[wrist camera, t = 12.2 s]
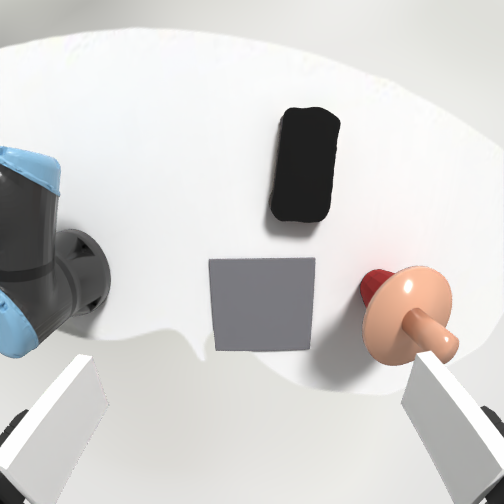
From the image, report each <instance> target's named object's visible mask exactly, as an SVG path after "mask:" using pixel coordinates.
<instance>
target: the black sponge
mask: <svg viewBox="0 0 504 504" xmlns="http://www.w3.org/2000/svg"><path fill="white" fill-rule="evenodd" d="M340 124H341V123H340V120H339V119H338V117H336V116H335V115H334V114H332V113H331V112H329V111H328V110H326V109H323V108H320V107H310V108H289V109H287V110H286V111H285V113H284V115H283V116H282V117H281V119H280V125H281V130H280V137H279V145H278V153H277V162H276V169H275V178H274V187H273V191H272V193H271V195H270V198H269V205H270V208H271V211H272V213H273V215H274V216H275V217H276V218H277V219H278V220H280V221H298V222H304V223H312V222H320V221H322V220H323V219H324V218H325V217H326V216H327V214H328V212H329V209H330V204H331V193H332V188H333V176H334V165H335V158H336V155H335V154H336V151H337V138H338V133H339V130H340Z"/></svg>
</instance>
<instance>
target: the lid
mask: <svg viewBox="0 0 504 504" xmlns="http://www.w3.org/2000/svg"><path fill="white" fill-rule="evenodd" d="M451 308H452V293H451V289H450V286H449V284H448V281H447V280H446V279H445V277H444V276H443V275H442V274H440V273H439V272H437V271H436V270H434V269H432V268H429V267H426V266H412V267H408V268H405V269H403V270H401V271H399V272H397V273H395V274H394V275H392V276H391V277H390V278H389V279H387V280H386V281H385V282H384V283H383V284H382V285H381V286H380V288H379V289H378V290H377V291H376V293H375V294H374V296H373V297H372V299H371V301H370V302H369V304H368V307H367V309H366V312H365V315H364V319H363V323H362V337H363V342H364V344H365V347H366V348H367V350H368V351H369V353H370V354H371V355H372V357H373V358H374V359H375V360H377V361H378V362H380V363H382V364H385V365H390V366H397V365H403V364H406V363H409V362H411V361H414V360H415V357H416V353H421V352H427V351H432V352H433V353H434V355H435V356H436V357H437V358H438V359H439V360H440V361H441V362H442V364H445V363H447V362H449V361H450V360H451V359H452V358H453V357H454V355H455V354H456V352H457V350H458V347H459V340H458V338H457V337H455V336H454V335H453V334H452V333H450V332H449V331H448V330H447V329H446V328H445V327H446V325H447V323H448V320H449V317H450V314H451Z"/></svg>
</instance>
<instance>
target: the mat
mask: <svg viewBox="0 0 504 504" xmlns="http://www.w3.org/2000/svg"><path fill="white" fill-rule="evenodd" d="M209 266H210V283H211V298H212V312H213V325H214V337H215V348H216V351H275V350H302V349H310V340H311V327H312V313H313V297H314V278H315V258H257V259H209Z"/></svg>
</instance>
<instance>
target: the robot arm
mask: <svg viewBox="0 0 504 504" xmlns="http://www.w3.org/2000/svg"><path fill="white" fill-rule="evenodd" d="M60 174H61V167H60V164H59V162H58V161H57V160H56V159H55V158H53V157H50V156H47V155H43V154H39V153H35V152H30V151H26V150H21V149H16V148H10V147H4V146H0V353H1V354H3V355H5V356H7V357H10V358H21V357H23V356H24V355H25V354H27V353H28V352H30V351H31V350H34V349H35V348H37V347H38V345H39V344H40V343H41V342H42V341H44V340H45V339H46V338H47V337H48V336H49V335H50V334H51V333H52V332H54V331H55V330H56V329H57V328H58V327H59V326H60V325H61V324H62V323H64V322H65V321H66V320H67V319H68V318H69V317H73V316H78V315H83V314H87V313H90V312H92V311H93V310H95V309H96V308H97V307H98V306H99V305H101V304H102V303H103V301H104V300H105V299H106V297H107V295H108V292H109V288H110V269H109V265H108V262H107V259H106V257H105V254H104V253H103V251H102V249H101V248H100V246H99V245H98V244H97V242H96V241H95V240H94V239H93V238H91V237H90V236H89V235H87V234H86V233H84V232H82V231H79V230H75V229H68V230H64V231H61V232H58V233H56V221H57V209H58V200H59V197H60V192H59V185H60ZM401 404H402V406H403V408H404V409H405V411H406V413H407V415H408V416H409V418H410V420H411V422H412V423H413V425H414V427H415V429H416V431H417V433H418V434H419V436H420V438H421V440H422V442H423V443H424V445H425V447H426V449H427V451H428V453H429V455H430V457H431V459H432V461H433V462H434V464H435V466H436V468H437V470H438V472H439V474H440V476H441V478H442V480H443V482H444V484H445V486H446V488H447V490H448V492H449V494H450V496H451V498H452V500H453V502H454V504H479V503H480V502H481V501H482V500H483V498H486V500H487V502H486V503H485V504H504V423H503V422H501V419H500V418H499V417H498V416H497V414H496V413H495V412H494V411H492V410H491V409H489V408H487V407H486V406H483V407H479V406H478V405H477V404H476V402H475V401H474V400H473V399H472V397H471V396H470V395H469V394H468V393H467V391H466V390H465V389H464V388H463V387H462V385H461V384H460V383H459V382H458V381H457V380H456V378H455V377H454V376H453V375H452V374H451V373H450V372H449V371H448V369H447V368H446V367H445V366H444V365H443V364H442V362H441V361H440V360H439V359H438V358H437V357H436V356H435V355H434V353H433V352H432V351H427V352H421V353H416V357H415V360H414V364H413V367H412V370H411V374H410V377H409V380H408V383H407V386H406V389H405V393H404V395H403V398H402V401H401ZM108 406H109V402H108V400H107V397H106V395H105V392H104V389H103V386H102V383H101V381H100V378H99V375H98V372H97V369H96V365H95V362H94V359H93V356H88V355H82V354H78V355H77V356H76V357H75V358H74V359H73V360H72V361H71V363H70V364H69V365H68V366H67V367H66V368H65V369H64V370H63V372H62V373H61V374H60V375H59V376H58V377H57V378H56V380H55V381H54V382H53V383H52V384H51V385H50V387H49V388H48V389H47V390H46V391H45V392H44V394H43V395H42V396H41V397H40V398H39V400H38V401H37V402H36V403H35V404H34V406H33V407H32V408H31V409H30V410H24V411H23V412H21V413H20V414H18V415H17V416H16V417H15V418H14V419H13V420H12V421H11V423H10V424H9V425H10V426H7V427H6V429H5V430H4V433H3V432H2V434H1V435H0V504H24V503H23V502H24V500H25V498H26V499H27V500H28V501H29V502H30V503H31V504H56V502H57V500H58V498H59V496H60V494H61V492H62V490H63V488H64V486H65V484H66V483H67V480H68V479H69V477H70V475H71V473H72V471H73V469H74V467H75V466H76V463H77V462H78V460H79V458H80V456H81V454H82V453H83V451H84V449H85V447H86V445H87V444H88V442H89V440H90V438H91V436H92V435H93V433H94V431H95V429H96V428H97V426H98V424H99V422H100V421H101V419H102V417H103V415H104V413H105V412H106V410H107V408H108Z"/></svg>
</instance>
